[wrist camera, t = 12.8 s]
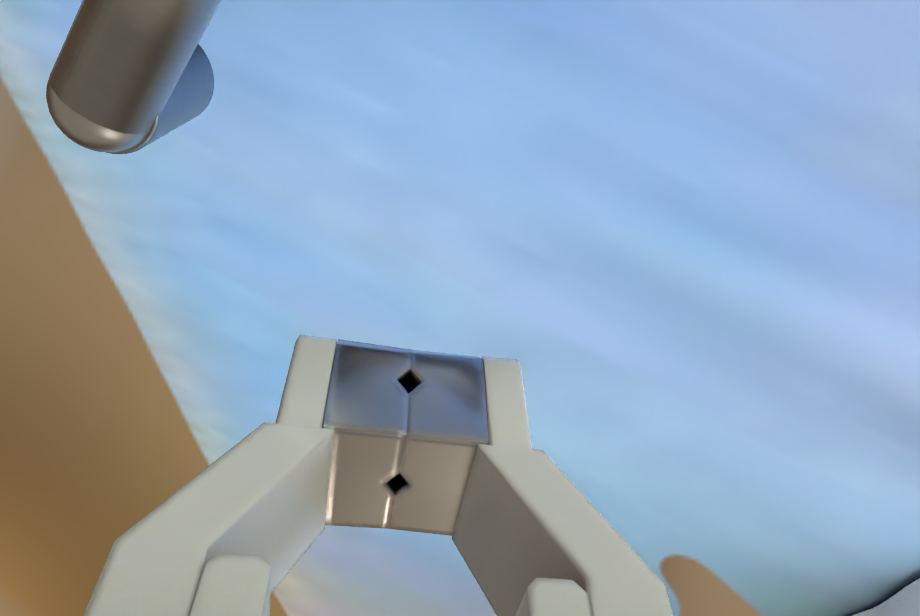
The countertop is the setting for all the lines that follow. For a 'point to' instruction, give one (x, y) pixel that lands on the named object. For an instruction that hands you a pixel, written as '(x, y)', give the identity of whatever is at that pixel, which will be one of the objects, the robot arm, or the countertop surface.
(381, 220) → the countertop surface
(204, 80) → the spout
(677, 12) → the countertop surface
